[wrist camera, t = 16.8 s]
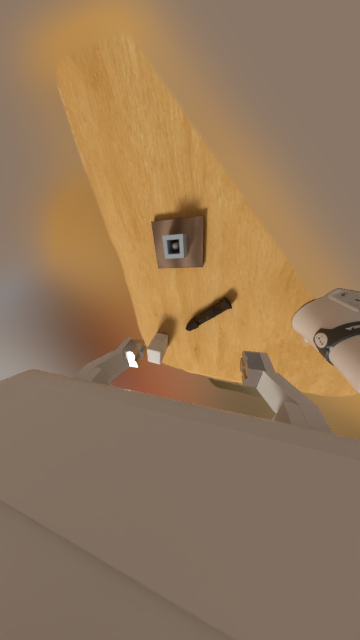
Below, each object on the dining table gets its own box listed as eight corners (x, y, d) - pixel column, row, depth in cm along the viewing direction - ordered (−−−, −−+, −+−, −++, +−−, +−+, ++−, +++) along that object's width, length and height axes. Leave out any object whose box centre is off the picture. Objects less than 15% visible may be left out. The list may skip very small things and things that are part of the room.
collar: (186, 233, 35) (182, 233, 31) (187, 255, 38) (183, 257, 34) (168, 235, 36) (162, 235, 32) (170, 256, 39) (164, 258, 35)
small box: (156, 331, 59) (146, 348, 51) (168, 334, 58) (160, 351, 50) (157, 344, 64) (147, 361, 55) (167, 347, 63) (160, 364, 54)
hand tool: (225, 294, 43) (226, 300, 39) (232, 304, 44) (233, 310, 41) (182, 320, 53) (180, 326, 49) (188, 327, 54) (186, 334, 50)
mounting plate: (204, 216, 33) (202, 213, 29) (202, 266, 40) (201, 270, 35) (153, 222, 37) (145, 220, 32) (160, 267, 43) (153, 271, 39)
